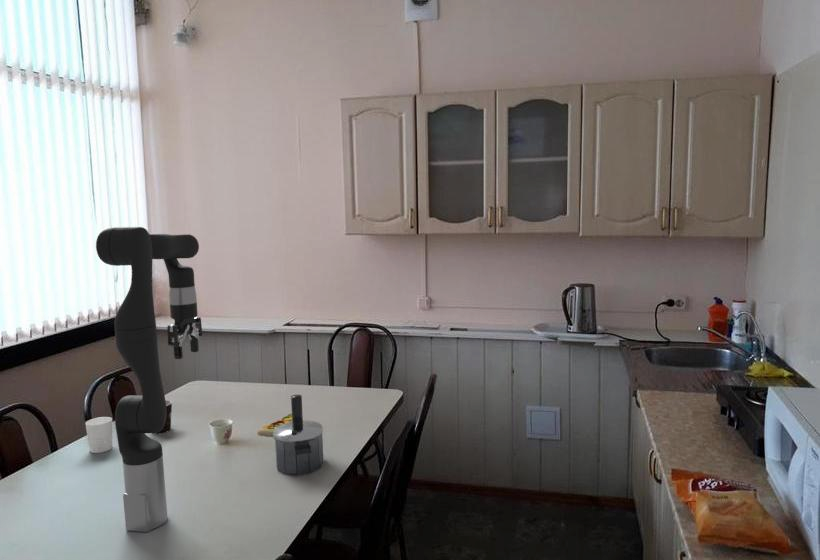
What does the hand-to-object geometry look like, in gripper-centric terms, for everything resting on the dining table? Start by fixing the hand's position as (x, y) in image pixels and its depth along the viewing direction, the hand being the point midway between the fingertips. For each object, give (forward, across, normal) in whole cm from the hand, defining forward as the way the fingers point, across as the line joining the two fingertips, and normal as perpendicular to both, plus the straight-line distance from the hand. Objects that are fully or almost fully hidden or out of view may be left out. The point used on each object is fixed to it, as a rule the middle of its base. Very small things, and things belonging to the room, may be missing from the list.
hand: (187, 355), depth 176 cm
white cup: (+36, +10, +41) cm, 56 cm away
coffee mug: (+36, +30, +31) cm, 56 cm away
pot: (+36, +8, -31) cm, 48 cm away
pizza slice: (+37, +39, -13) cm, 55 cm away
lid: (+26, +8, -31) cm, 41 cm away
